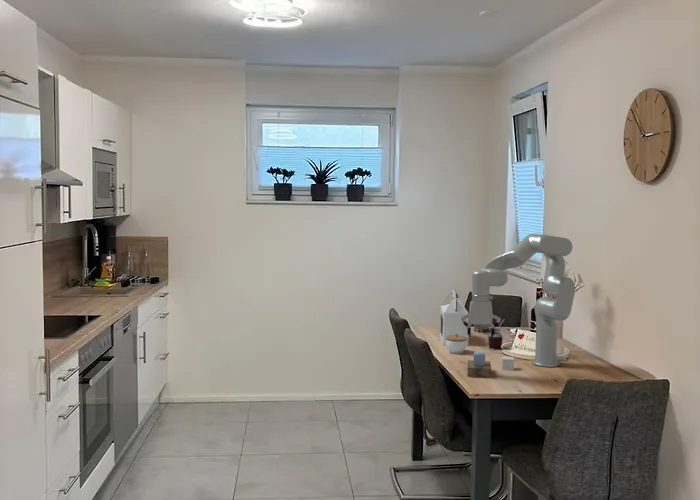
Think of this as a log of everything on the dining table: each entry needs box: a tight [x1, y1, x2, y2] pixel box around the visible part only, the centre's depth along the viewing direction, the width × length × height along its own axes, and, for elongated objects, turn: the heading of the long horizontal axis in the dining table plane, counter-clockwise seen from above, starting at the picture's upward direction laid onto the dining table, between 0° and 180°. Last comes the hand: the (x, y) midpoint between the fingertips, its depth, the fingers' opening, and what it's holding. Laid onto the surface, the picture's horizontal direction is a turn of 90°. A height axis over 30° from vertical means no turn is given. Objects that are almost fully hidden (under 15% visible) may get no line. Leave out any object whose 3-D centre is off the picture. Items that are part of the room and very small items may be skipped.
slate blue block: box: [473, 351, 486, 366], centre depth 292 cm, size 5×5×5 cm
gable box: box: [439, 288, 469, 347], centre depth 356 cm, size 22×13×28 cm, turn 177°
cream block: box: [501, 355, 515, 371], centre depth 301 cm, size 5×5×5 cm
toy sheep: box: [472, 324, 491, 333], centre depth 385 cm, size 11×17×11 cm, turn 141°
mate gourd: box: [488, 318, 506, 351], centre depth 341 cm, size 8×8×15 cm
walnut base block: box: [466, 359, 492, 379], centre depth 293 cm, size 10×13×4 cm
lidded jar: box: [445, 334, 467, 354], centre depth 332 cm, size 11×11×9 cm
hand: (480, 336), depth 292 cm, fingers open, 9 cm apart
